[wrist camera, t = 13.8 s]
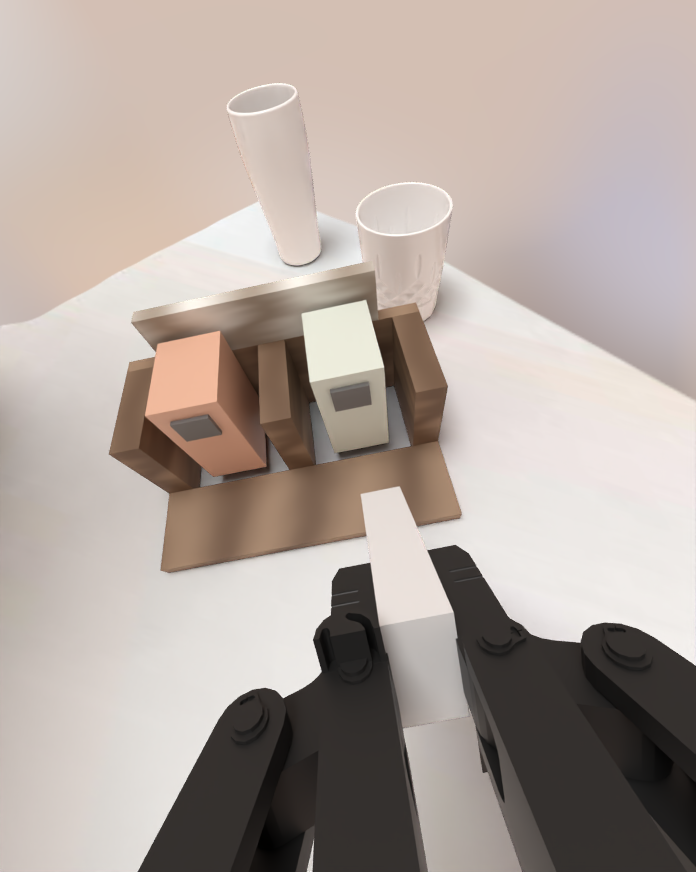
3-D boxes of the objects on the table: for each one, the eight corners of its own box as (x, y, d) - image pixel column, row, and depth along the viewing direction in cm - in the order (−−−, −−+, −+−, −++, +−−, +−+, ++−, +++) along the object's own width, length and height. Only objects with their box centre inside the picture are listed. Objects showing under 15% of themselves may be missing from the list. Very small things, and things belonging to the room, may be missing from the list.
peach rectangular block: (213, 480, 29) (143, 420, 21) (216, 416, 32) (157, 344, 24) (266, 469, 29) (216, 405, 21) (264, 406, 32) (220, 330, 24)
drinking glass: (264, 258, 45) (210, 106, 32) (303, 232, 47) (267, 78, 34) (299, 278, 42) (254, 120, 30) (339, 249, 44) (313, 88, 31)
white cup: (443, 281, 39) (455, 179, 30) (438, 334, 35) (450, 234, 27) (372, 281, 41) (363, 183, 32) (360, 331, 37) (347, 236, 28)
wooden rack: (168, 572, 27) (22, 528, 16) (184, 419, 34) (89, 321, 24) (459, 517, 26) (497, 435, 16) (412, 372, 33) (418, 251, 23)
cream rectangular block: (335, 456, 28) (310, 386, 21) (325, 394, 32) (301, 313, 24) (389, 445, 28) (385, 371, 20) (374, 384, 31) (366, 299, 24)
